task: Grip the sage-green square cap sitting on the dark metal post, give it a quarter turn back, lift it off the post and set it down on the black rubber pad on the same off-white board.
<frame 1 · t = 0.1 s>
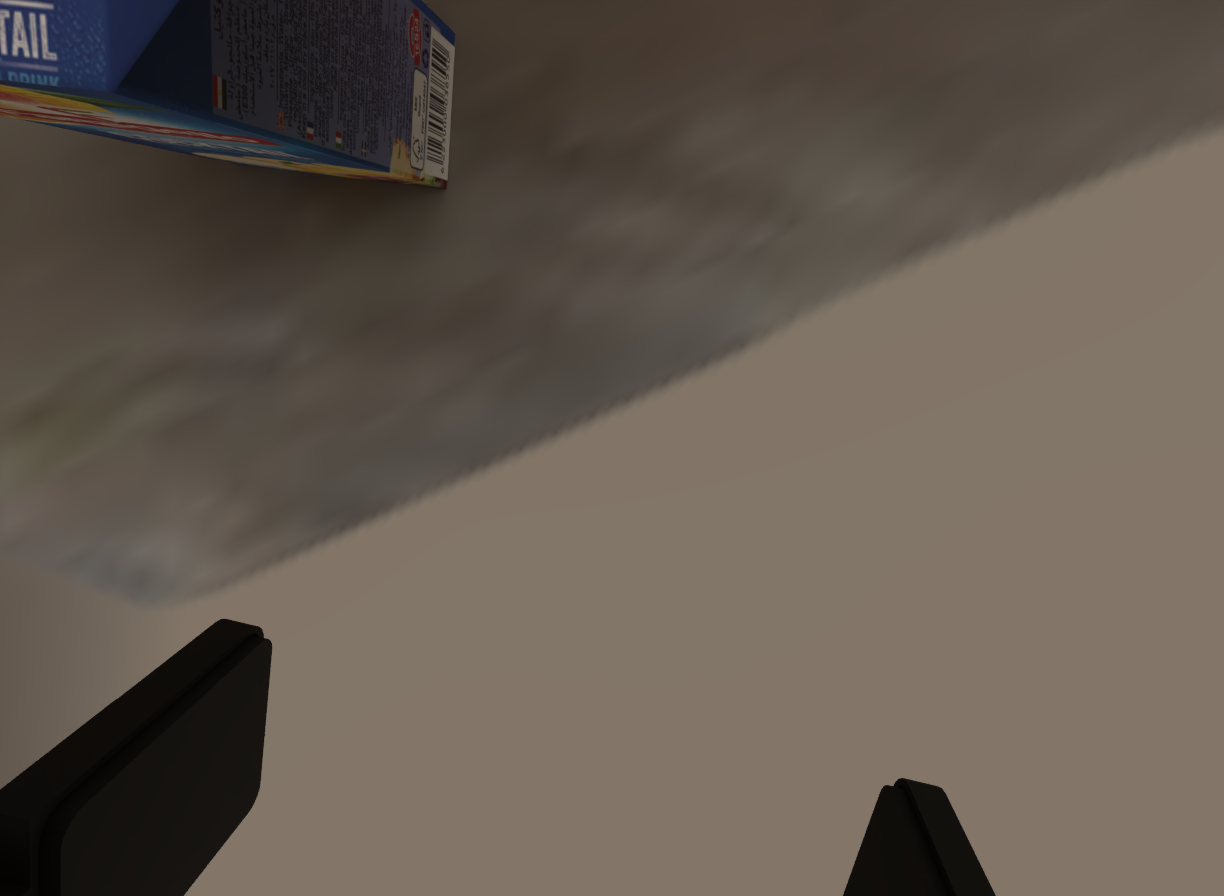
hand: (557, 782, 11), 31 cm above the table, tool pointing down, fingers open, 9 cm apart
juice carton: (343, 102, 39), on the table
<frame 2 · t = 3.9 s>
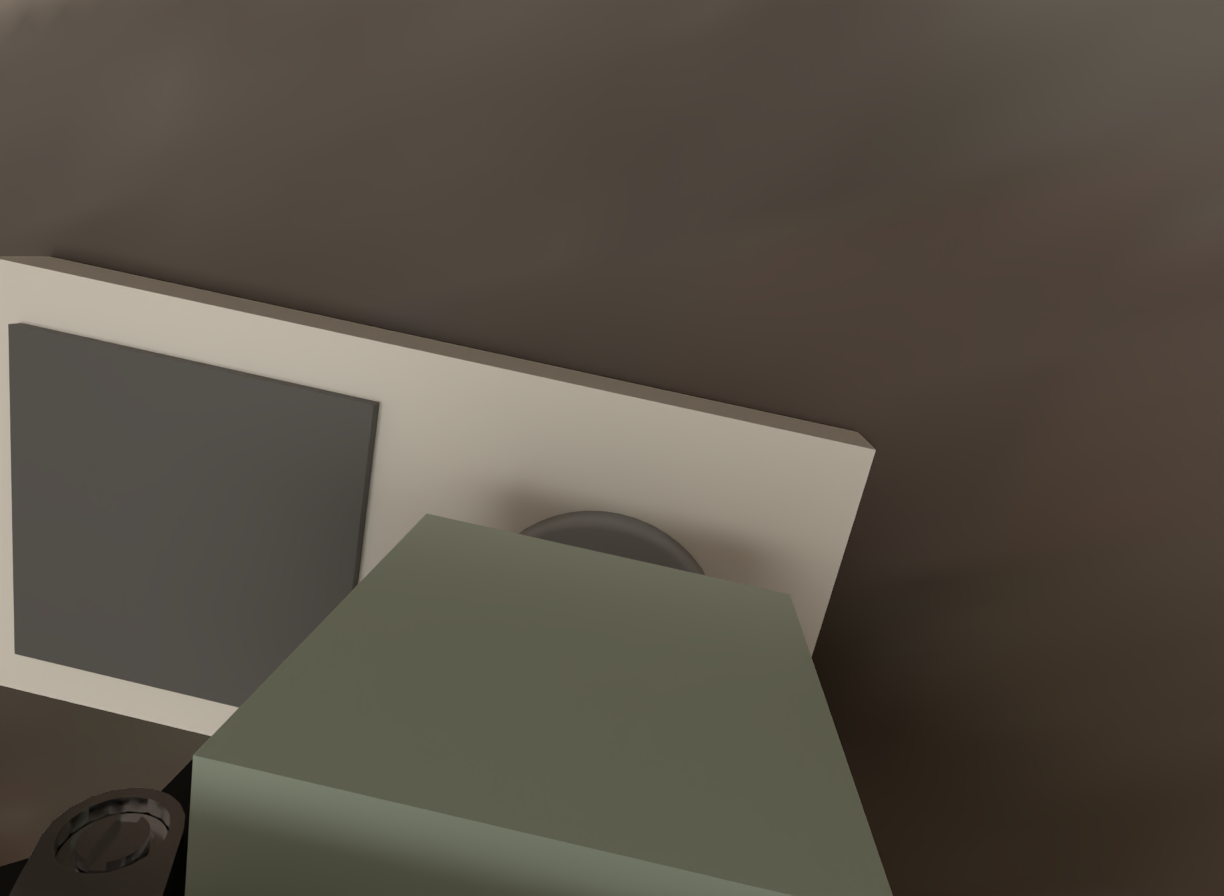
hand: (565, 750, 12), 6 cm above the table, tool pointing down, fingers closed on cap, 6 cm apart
cap: (572, 711, 13), point 5 cm above the table, touching gripper, post board
post board: (415, 552, 17), on the table
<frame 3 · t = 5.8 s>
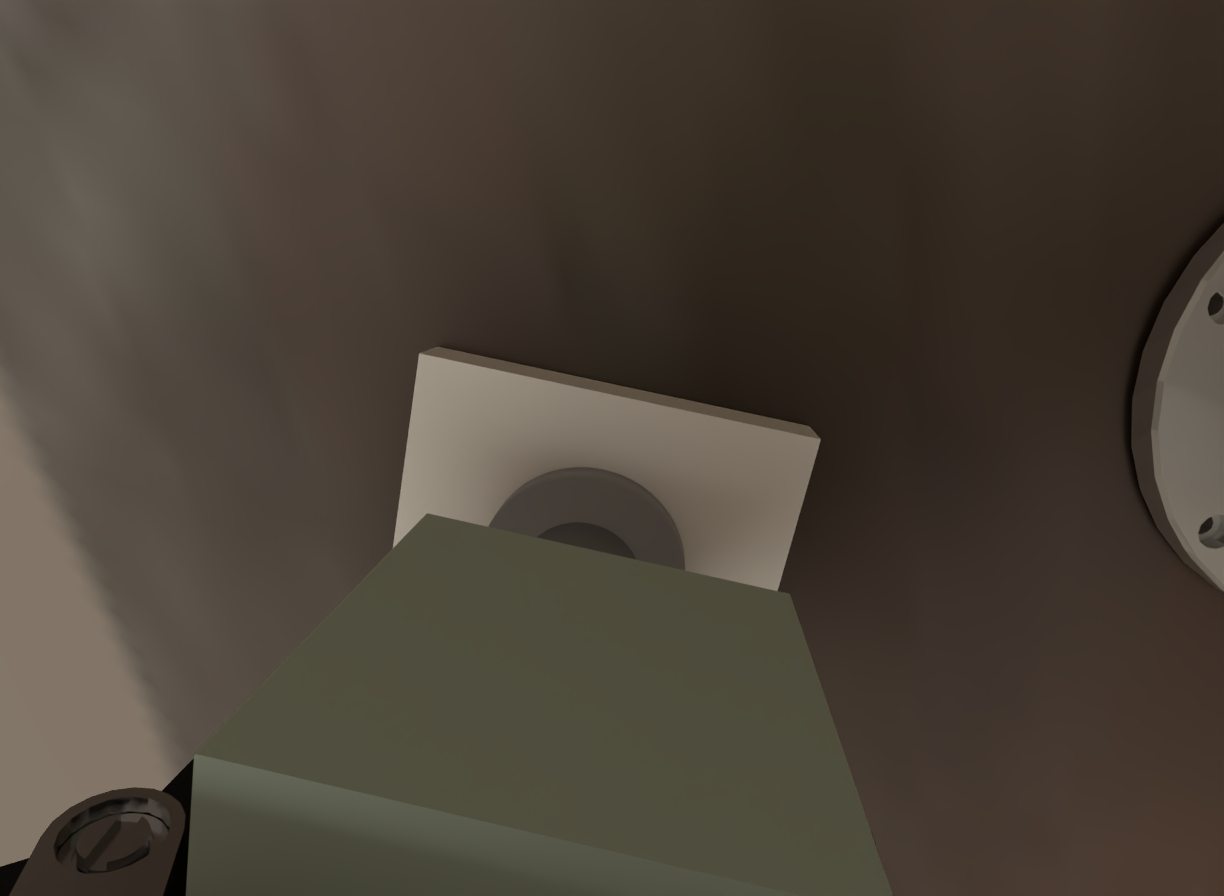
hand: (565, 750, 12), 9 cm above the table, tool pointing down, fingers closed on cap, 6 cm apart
cap: (572, 711, 13), point 8 cm above the table, touching gripper
post board: (560, 681, 22), on the table
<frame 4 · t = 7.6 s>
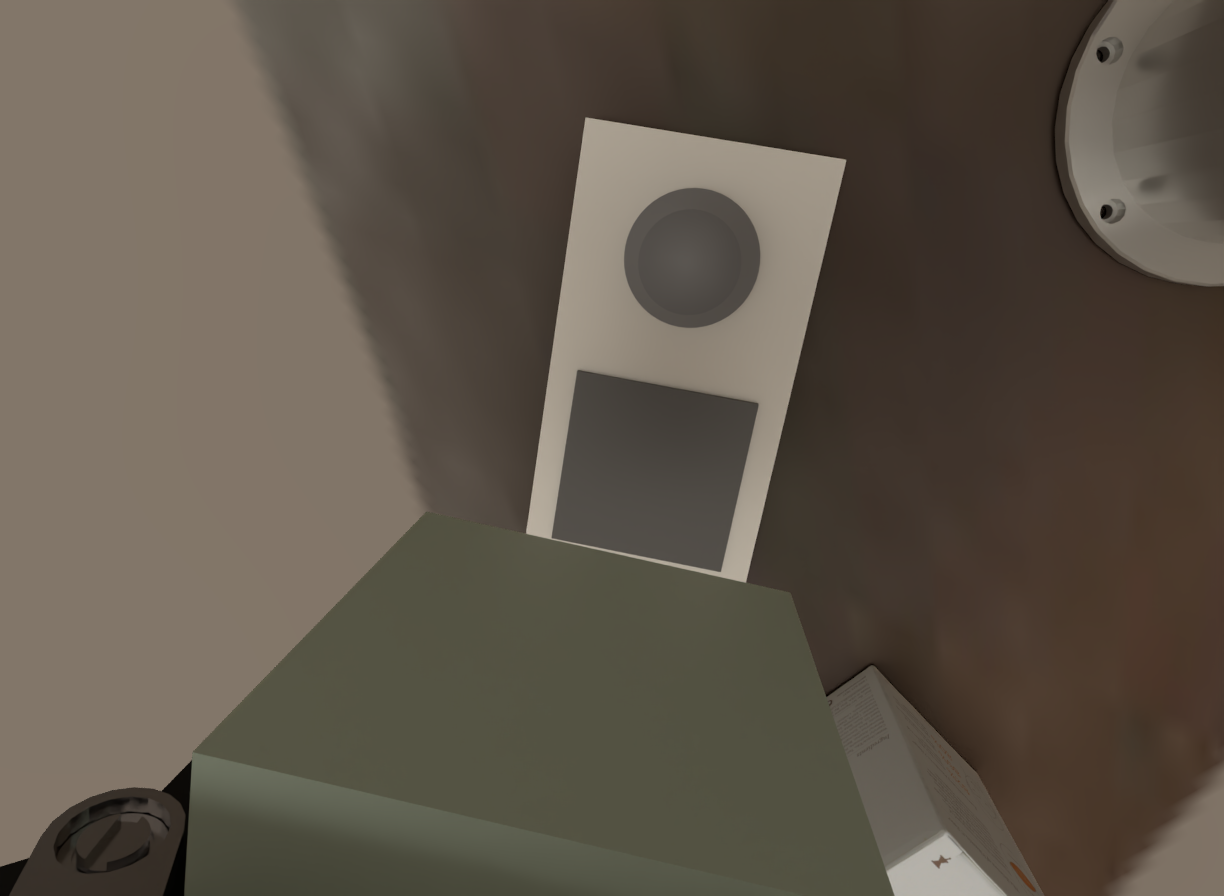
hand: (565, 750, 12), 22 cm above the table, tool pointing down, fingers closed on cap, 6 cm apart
cap: (572, 710, 13), point 21 cm above the table, touching gripper
small box: (878, 746, 36), on the table
post board: (671, 364, 32), on the table
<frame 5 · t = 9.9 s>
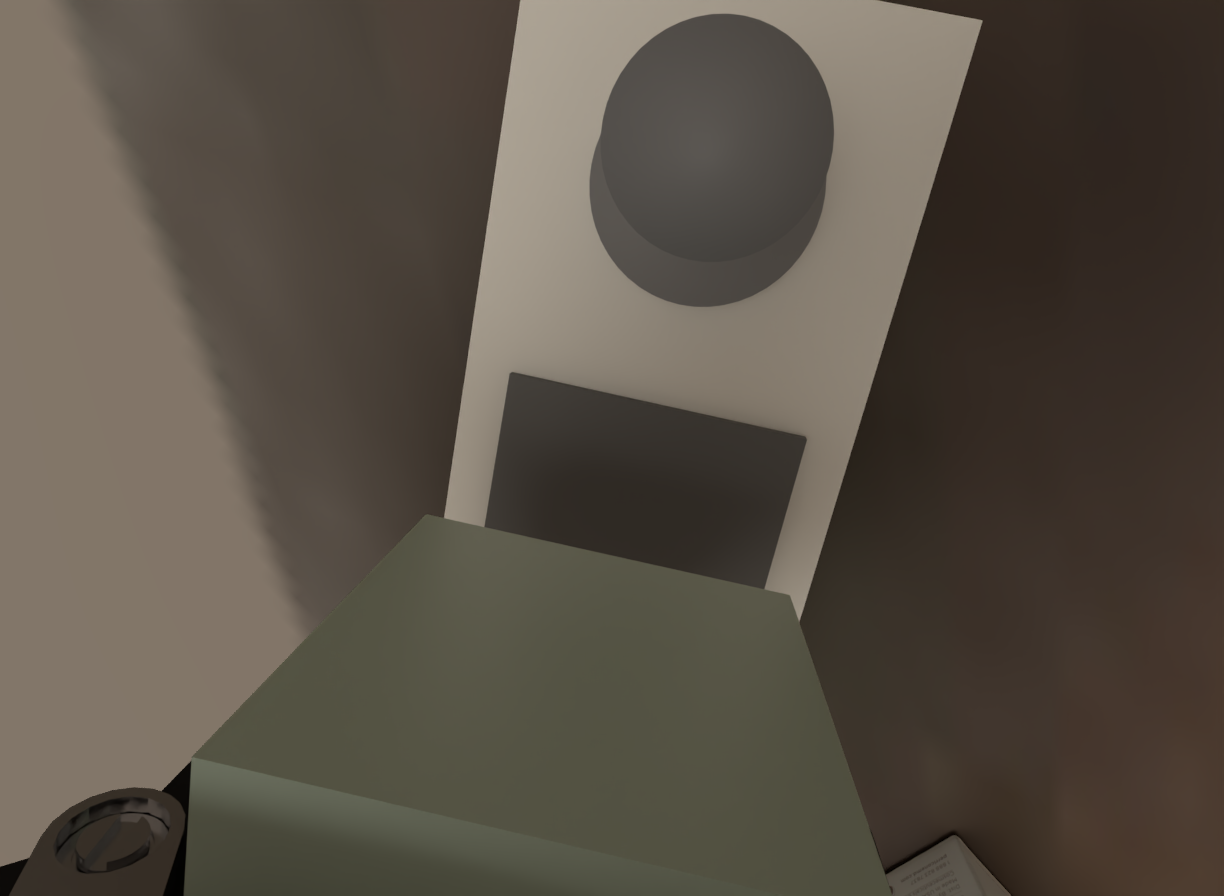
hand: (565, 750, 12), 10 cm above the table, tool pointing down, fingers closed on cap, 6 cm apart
cap: (572, 712, 13), point 9 cm above the table, touching gripper
post board: (665, 367, 20), on the table
when the fingers open (4 cm above the table, at t = 11.6 s): cap drops 1 cm, resting on post board.
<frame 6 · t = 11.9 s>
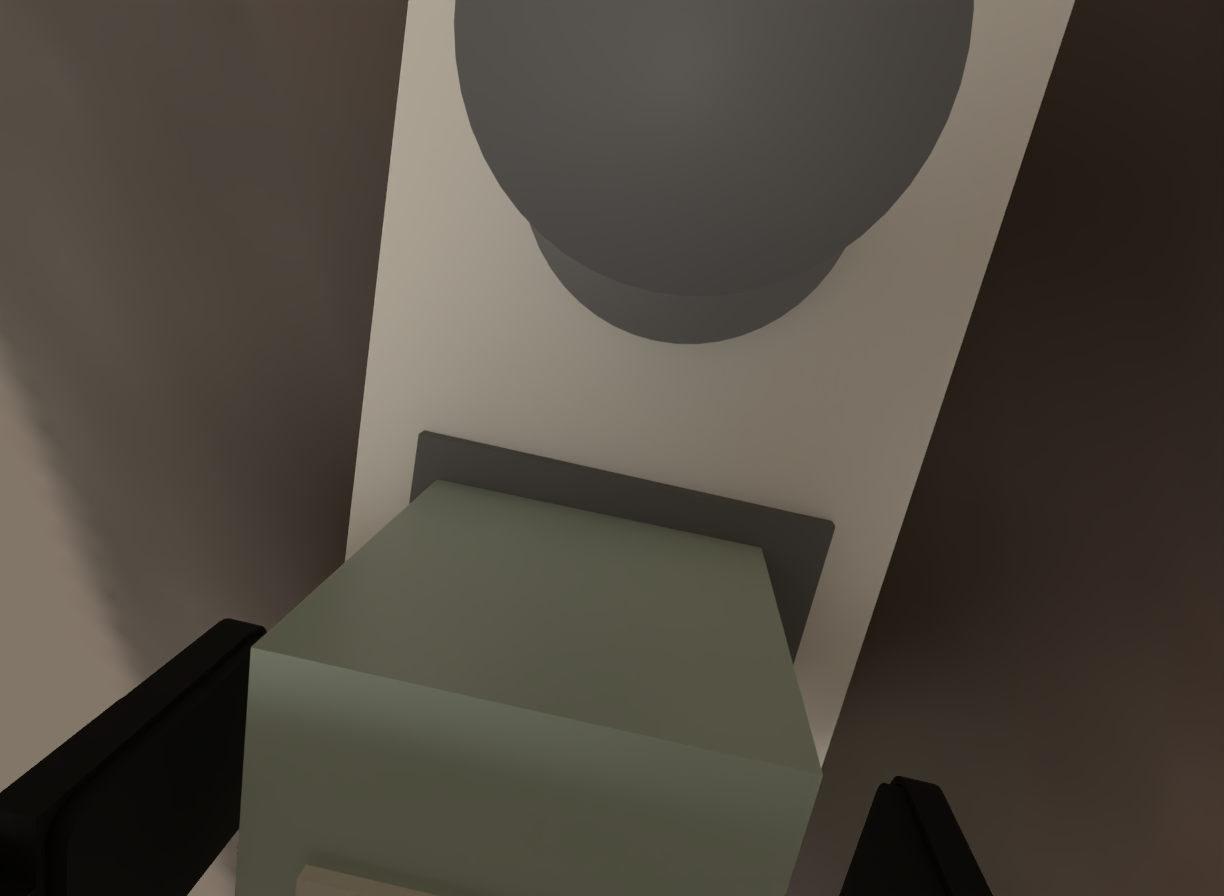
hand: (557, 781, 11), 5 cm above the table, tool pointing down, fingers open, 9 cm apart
cap: (569, 657, 14), point 2 cm above the table, touching post board
post board: (638, 420, 15), on the table
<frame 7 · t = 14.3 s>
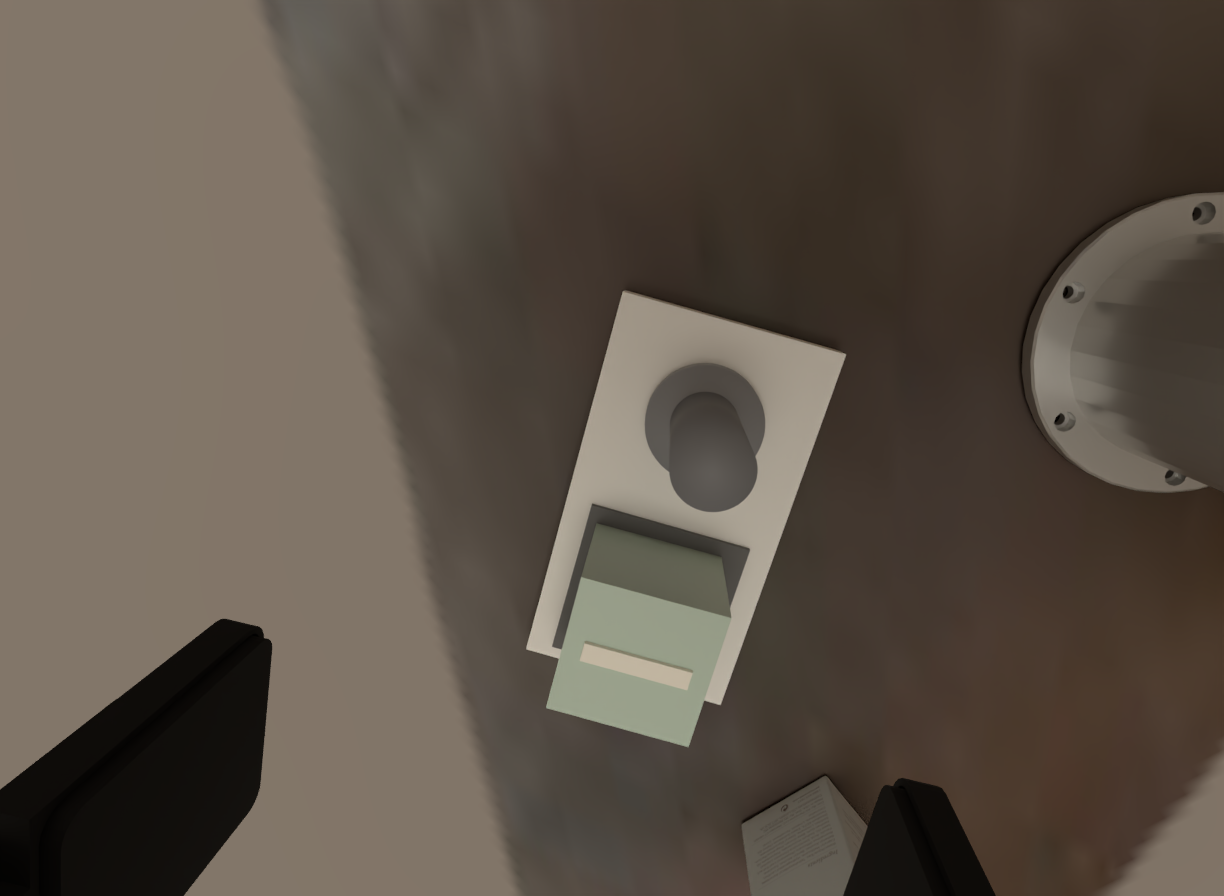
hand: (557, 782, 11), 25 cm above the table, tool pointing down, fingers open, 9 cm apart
cap: (642, 596, 35), point 2 cm above the table, touching post board
small box: (824, 845, 40), on the table
post board: (674, 501, 35), on the table
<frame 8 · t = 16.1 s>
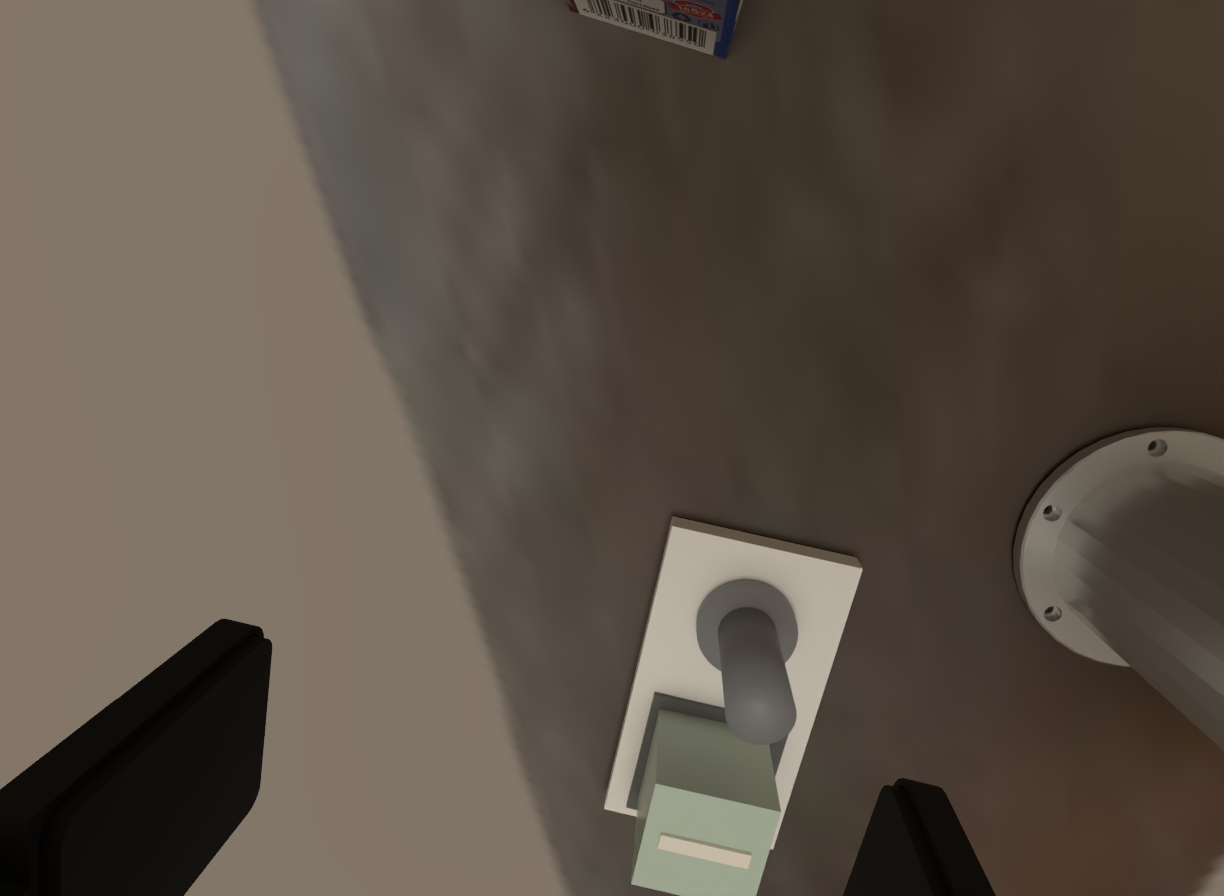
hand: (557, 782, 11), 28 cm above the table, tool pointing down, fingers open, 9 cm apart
cap: (701, 765, 41), point 2 cm above the table, touching post board
post board: (723, 681, 42), on the table
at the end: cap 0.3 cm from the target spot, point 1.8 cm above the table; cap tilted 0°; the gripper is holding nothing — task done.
